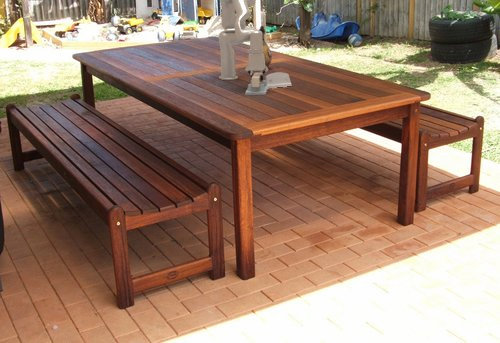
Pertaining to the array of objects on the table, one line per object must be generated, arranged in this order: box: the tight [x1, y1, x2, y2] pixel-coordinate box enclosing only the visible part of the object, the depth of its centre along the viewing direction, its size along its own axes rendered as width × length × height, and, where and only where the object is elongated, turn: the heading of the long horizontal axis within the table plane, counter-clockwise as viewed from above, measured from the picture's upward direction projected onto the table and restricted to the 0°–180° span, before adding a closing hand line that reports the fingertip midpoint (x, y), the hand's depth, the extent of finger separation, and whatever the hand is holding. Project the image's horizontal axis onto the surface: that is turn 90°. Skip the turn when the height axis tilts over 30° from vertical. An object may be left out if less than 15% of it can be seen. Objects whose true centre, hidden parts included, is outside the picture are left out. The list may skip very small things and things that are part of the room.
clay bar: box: [252, 72, 263, 87], centre depth 426 cm, size 16×4×6 cm, turn 173°
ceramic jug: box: [258, 25, 273, 71], centre depth 493 cm, size 17×15×30 cm
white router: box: [264, 71, 293, 90], centre depth 440 cm, size 17×5×10 cm, turn 108°
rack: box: [244, 79, 269, 96], centre depth 427 cm, size 18×12×6 cm, turn 173°
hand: (256, 81), depth 426 cm, fingers closed on clay bar, 4 cm apart
